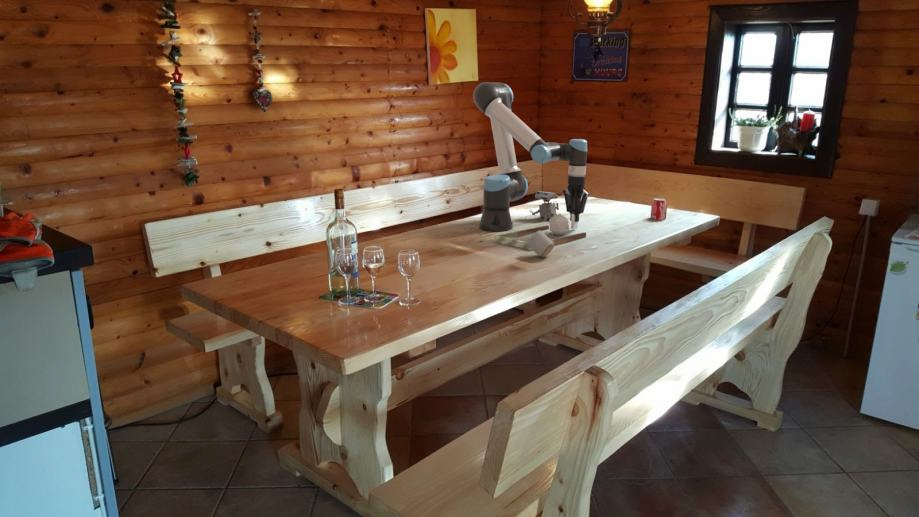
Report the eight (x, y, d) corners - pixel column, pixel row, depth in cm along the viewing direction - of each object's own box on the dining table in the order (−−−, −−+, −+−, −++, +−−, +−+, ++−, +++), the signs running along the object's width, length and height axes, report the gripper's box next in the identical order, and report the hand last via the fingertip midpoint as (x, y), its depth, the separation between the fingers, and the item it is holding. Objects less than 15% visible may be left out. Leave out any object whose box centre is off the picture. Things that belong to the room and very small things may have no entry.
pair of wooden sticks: (493, 241, 279) (494, 235, 278) (546, 230, 302) (547, 225, 301) (533, 250, 264) (533, 244, 263) (585, 238, 287) (586, 232, 286)
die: (568, 238, 286) (569, 215, 283) (547, 237, 288) (548, 214, 285) (569, 234, 294) (570, 212, 292) (549, 233, 296) (549, 211, 293)
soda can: (667, 223, 320) (669, 198, 317) (663, 226, 314) (665, 200, 311) (652, 222, 324) (654, 197, 321) (648, 224, 318) (650, 199, 315)
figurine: (541, 220, 327) (542, 189, 324) (560, 223, 319) (561, 191, 315) (529, 222, 321) (530, 191, 317) (548, 225, 313) (549, 193, 309)
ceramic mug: (540, 262, 252) (546, 249, 247) (524, 248, 255) (529, 235, 249) (557, 248, 258) (563, 235, 252) (541, 235, 261) (546, 222, 255)
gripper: (559, 174, 294) (557, 227, 300) (583, 177, 285) (580, 232, 291) (570, 173, 299) (567, 225, 305) (594, 176, 290) (591, 229, 296)
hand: (574, 228), depth 298 cm, fingers closed
